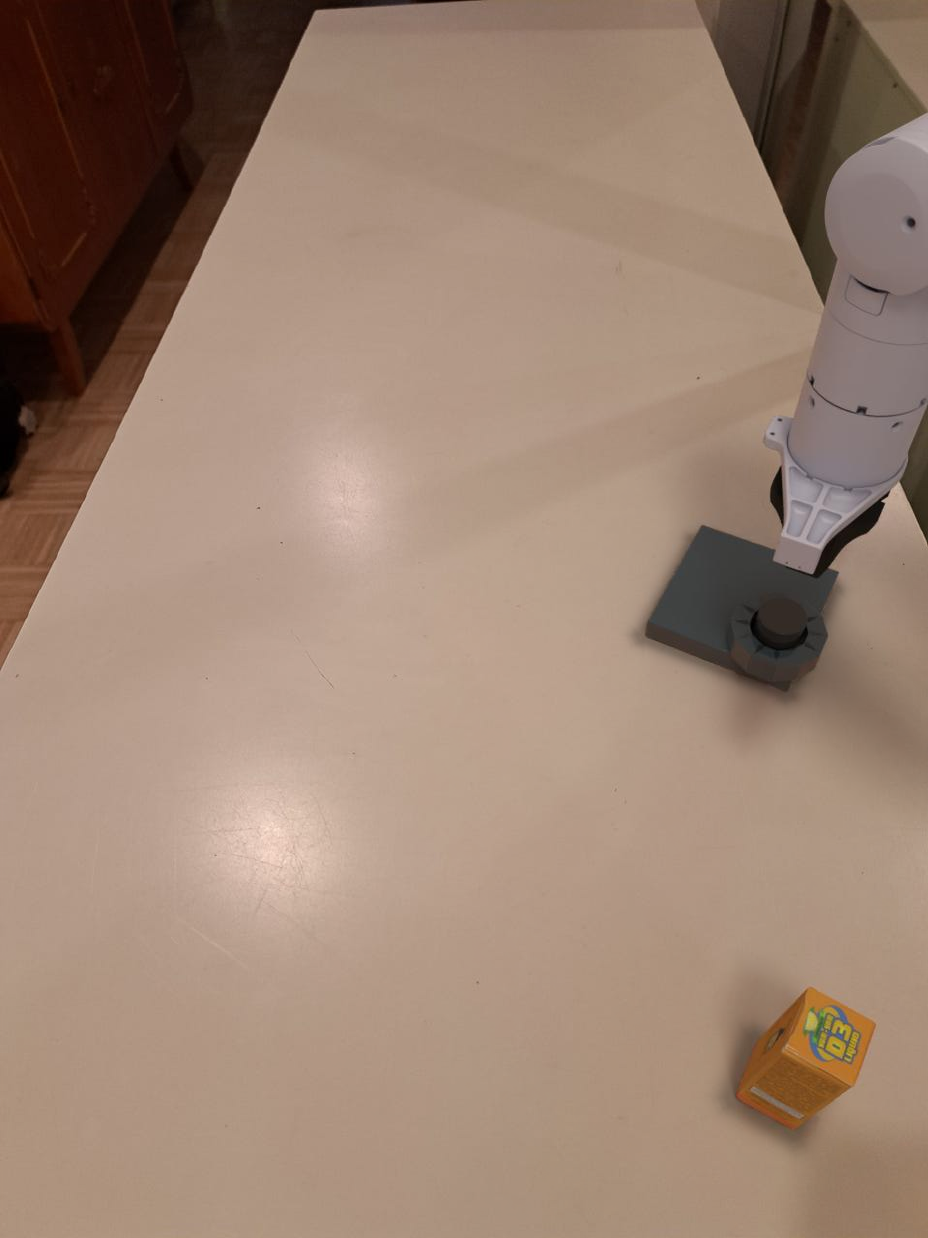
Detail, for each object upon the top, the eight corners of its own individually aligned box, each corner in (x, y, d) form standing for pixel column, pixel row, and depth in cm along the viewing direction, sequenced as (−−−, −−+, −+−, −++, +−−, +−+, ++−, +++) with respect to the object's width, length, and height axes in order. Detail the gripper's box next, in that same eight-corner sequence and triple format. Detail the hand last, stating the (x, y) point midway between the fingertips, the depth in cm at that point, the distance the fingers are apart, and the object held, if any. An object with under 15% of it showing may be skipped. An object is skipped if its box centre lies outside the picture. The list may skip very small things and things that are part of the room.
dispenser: (846, 591, 67) (860, 558, 64) (797, 709, 61) (810, 679, 59) (698, 539, 71) (705, 506, 68) (639, 646, 65) (644, 615, 62)
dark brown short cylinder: (807, 623, 62) (814, 606, 60) (793, 657, 60) (799, 640, 59) (762, 606, 63) (767, 590, 61) (747, 639, 61) (752, 623, 60)
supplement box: (799, 1138, 47) (854, 1094, 39) (733, 1098, 48) (772, 1047, 40) (823, 1075, 48) (879, 1020, 40) (757, 1037, 50) (800, 978, 42)
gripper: (830, 276, 50) (778, 466, 61) (734, 446, 43) (694, 628, 54) (971, 310, 48) (890, 501, 59) (895, 496, 40) (819, 676, 51)
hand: (804, 565), depth 56 cm, fingers closed
